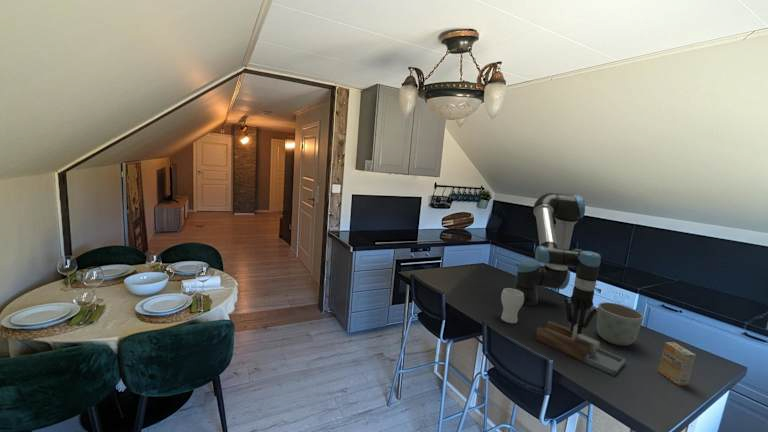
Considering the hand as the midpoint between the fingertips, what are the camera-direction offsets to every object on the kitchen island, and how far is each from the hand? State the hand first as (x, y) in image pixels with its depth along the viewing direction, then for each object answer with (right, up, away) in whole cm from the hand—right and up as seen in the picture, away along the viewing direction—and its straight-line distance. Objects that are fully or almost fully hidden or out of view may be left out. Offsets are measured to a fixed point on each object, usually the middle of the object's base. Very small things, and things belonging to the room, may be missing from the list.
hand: (574, 339), depth 141 cm
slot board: (-2, -4, +3) cm, 6 cm away
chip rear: (+2, -2, -2) cm, 3 cm away
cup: (-19, +1, +24) cm, 31 cm away
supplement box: (+29, -10, -15) cm, 34 cm away
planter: (+25, -5, +11) cm, 28 cm away
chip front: (+4, -3, -5) cm, 7 cm away
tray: (+8, -7, -8) cm, 13 cm away
